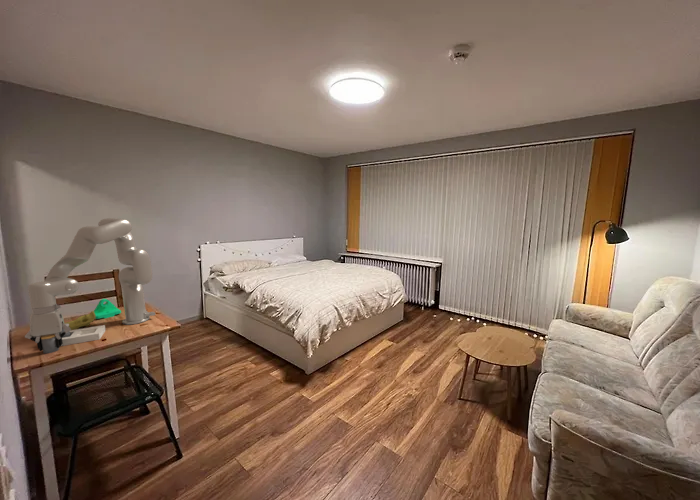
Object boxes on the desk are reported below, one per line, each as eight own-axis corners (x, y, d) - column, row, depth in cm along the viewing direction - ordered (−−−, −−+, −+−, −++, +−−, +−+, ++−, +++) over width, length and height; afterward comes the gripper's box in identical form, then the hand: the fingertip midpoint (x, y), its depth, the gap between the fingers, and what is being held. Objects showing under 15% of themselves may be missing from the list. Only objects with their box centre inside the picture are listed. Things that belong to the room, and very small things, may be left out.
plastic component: (45, 334, 141) (42, 322, 146) (48, 344, 145) (45, 332, 150) (97, 320, 156) (92, 309, 161) (99, 329, 159) (94, 318, 164)
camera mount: (96, 320, 165) (94, 303, 164) (92, 318, 169) (90, 301, 168) (121, 314, 175) (120, 298, 173) (117, 312, 179) (115, 296, 178)
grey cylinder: (72, 338, 141) (70, 322, 140) (69, 342, 137) (66, 326, 136) (58, 340, 139) (56, 324, 138) (54, 344, 135) (52, 328, 133)
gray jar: (61, 348, 132) (58, 331, 131) (56, 352, 128) (54, 336, 127) (46, 350, 130) (43, 334, 128) (41, 355, 125) (38, 338, 124)
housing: (105, 331, 150) (104, 325, 150) (99, 340, 140) (98, 333, 139) (53, 339, 140) (52, 333, 140) (42, 350, 130) (41, 343, 130)
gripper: (73, 304, 133) (78, 340, 136) (21, 310, 125) (28, 349, 127) (67, 308, 127) (73, 347, 129) (12, 315, 118) (19, 356, 121)
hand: (50, 347), depth 128 cm, fingers closed on gray jar, 4 cm apart
